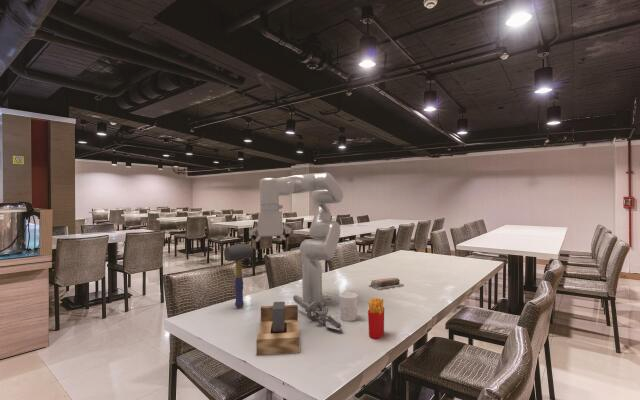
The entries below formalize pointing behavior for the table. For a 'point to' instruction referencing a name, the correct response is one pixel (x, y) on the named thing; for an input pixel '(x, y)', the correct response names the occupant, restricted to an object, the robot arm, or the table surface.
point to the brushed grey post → (278, 317)
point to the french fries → (376, 318)
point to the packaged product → (385, 283)
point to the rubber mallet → (238, 267)
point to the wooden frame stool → (278, 341)
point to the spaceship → (319, 313)
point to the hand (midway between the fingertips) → (271, 250)
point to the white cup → (348, 306)
